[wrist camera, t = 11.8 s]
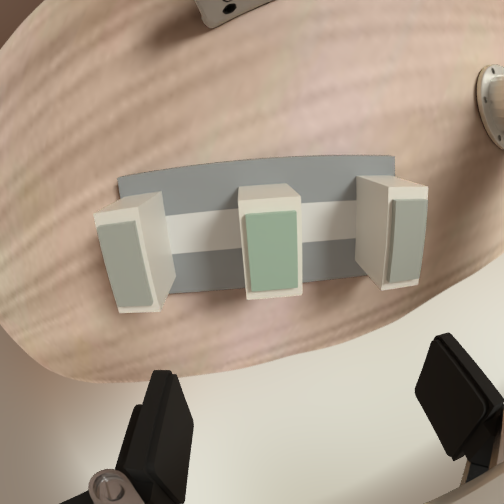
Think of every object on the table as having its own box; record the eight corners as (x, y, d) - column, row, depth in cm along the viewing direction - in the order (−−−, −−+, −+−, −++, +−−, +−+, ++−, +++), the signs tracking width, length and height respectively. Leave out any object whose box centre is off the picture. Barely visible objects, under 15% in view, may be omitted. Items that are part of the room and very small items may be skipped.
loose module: (286, 183, 27) (302, 197, 20) (289, 261, 30) (303, 298, 23) (238, 186, 27) (237, 202, 20) (245, 265, 30) (246, 303, 23)
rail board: (388, 155, 28) (394, 156, 26) (383, 267, 32) (389, 272, 31) (122, 176, 28) (117, 178, 26) (145, 288, 32) (141, 295, 31)
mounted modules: (390, 175, 27) (432, 188, 20) (386, 256, 30) (421, 287, 23) (124, 196, 27) (89, 215, 20) (141, 278, 30) (117, 316, 23)
